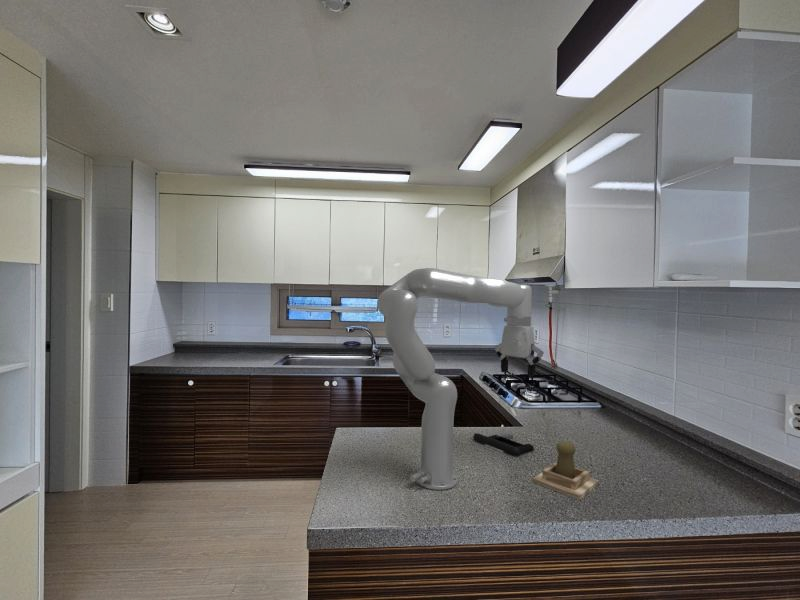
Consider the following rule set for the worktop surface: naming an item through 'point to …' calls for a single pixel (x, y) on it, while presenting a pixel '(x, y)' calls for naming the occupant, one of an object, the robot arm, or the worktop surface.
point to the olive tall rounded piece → (565, 459)
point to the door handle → (503, 444)
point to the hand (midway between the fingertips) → (517, 374)
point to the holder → (567, 482)
